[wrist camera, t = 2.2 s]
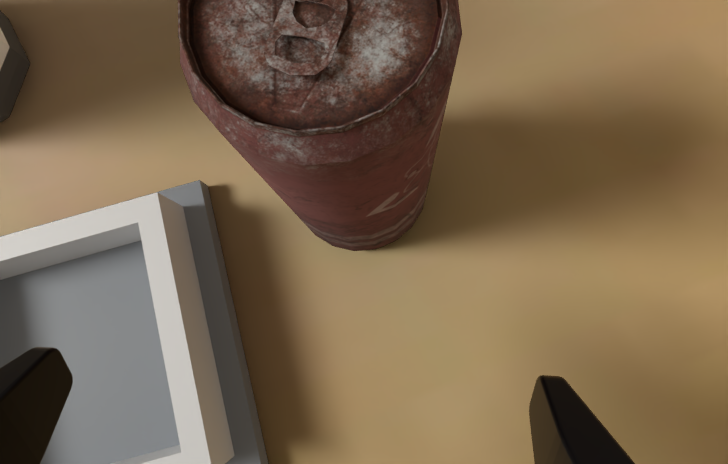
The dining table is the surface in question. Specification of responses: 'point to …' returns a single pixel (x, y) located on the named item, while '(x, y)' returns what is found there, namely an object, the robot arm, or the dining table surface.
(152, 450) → the tray
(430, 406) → the dining table surface
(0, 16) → the wine bottle
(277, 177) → the can
